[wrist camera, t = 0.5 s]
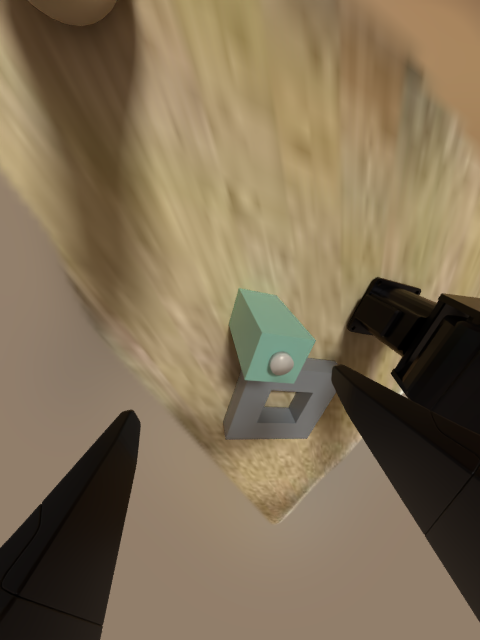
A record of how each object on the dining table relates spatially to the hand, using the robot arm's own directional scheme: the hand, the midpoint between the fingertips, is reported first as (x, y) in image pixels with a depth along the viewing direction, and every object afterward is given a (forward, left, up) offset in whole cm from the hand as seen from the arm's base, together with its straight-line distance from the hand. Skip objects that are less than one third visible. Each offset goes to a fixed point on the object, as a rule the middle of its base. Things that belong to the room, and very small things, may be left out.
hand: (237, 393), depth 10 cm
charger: (-4, +1, -12) cm, 13 cm away
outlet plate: (-11, +12, -12) cm, 21 cm away
